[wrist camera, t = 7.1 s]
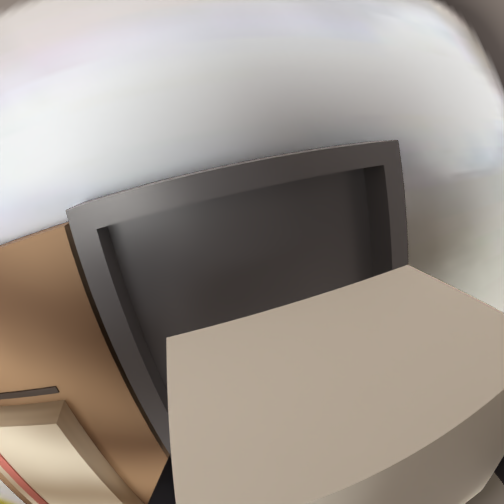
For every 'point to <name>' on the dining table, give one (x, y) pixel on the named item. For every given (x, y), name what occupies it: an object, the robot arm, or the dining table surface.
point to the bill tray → (235, 247)
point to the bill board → (66, 386)
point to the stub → (341, 399)
